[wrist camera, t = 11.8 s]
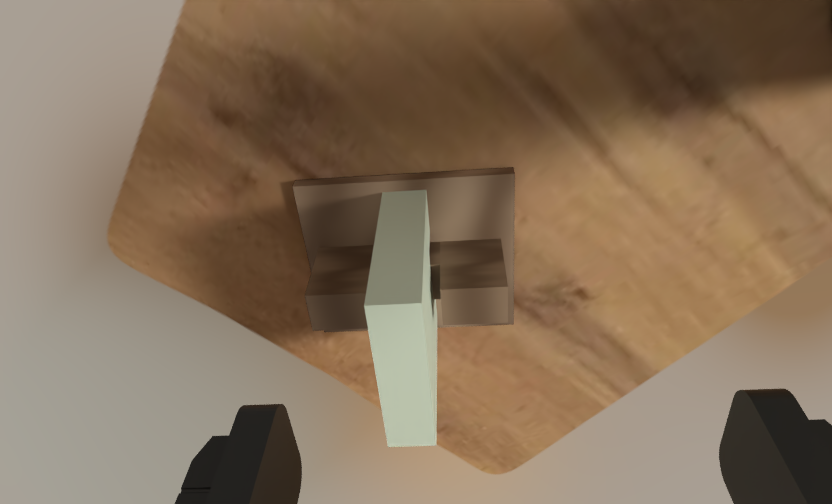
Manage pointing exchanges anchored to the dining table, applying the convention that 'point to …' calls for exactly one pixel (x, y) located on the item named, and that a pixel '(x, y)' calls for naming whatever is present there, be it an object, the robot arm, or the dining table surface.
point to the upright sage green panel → (404, 319)
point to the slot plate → (449, 247)
